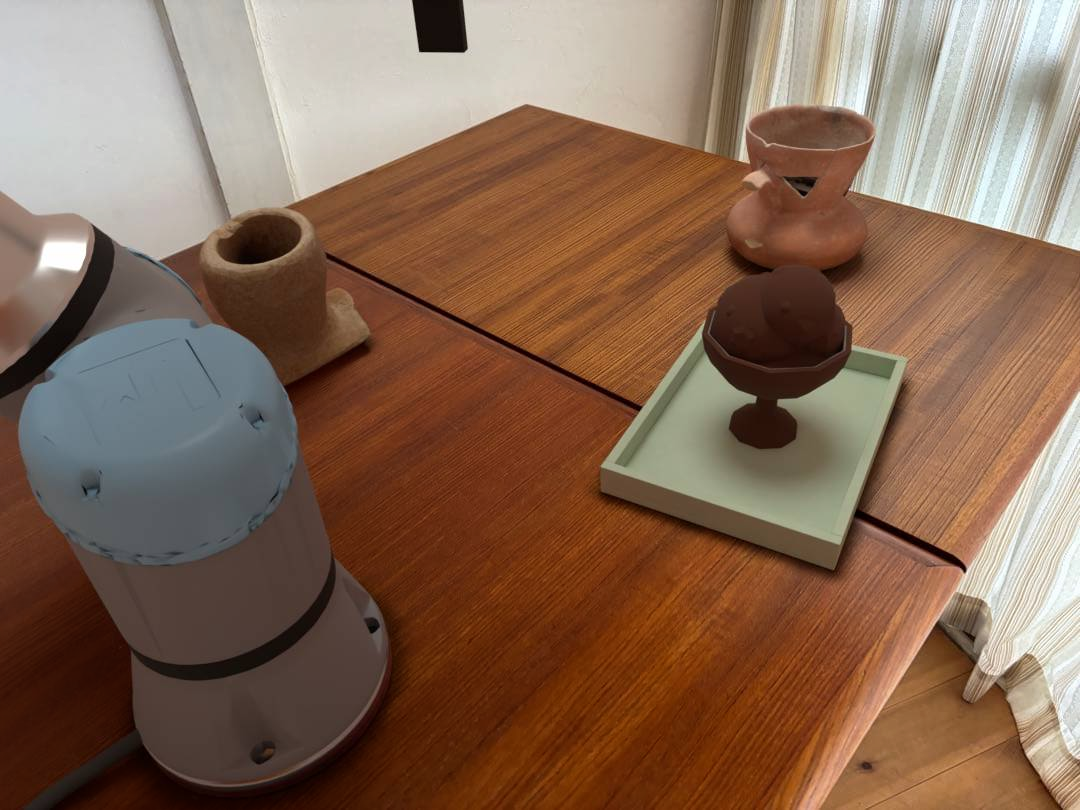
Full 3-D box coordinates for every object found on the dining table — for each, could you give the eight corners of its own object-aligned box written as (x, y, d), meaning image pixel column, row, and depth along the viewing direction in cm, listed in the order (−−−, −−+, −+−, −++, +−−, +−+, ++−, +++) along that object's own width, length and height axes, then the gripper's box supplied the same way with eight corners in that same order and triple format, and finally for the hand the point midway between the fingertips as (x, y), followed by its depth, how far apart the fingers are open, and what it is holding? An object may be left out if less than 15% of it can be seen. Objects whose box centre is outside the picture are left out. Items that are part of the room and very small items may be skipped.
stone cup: (263, 424, 73) (212, 272, 64) (203, 369, 81) (149, 225, 71) (405, 350, 81) (378, 205, 72) (338, 306, 88) (306, 169, 79)
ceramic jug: (793, 307, 84) (814, 170, 75) (688, 255, 93) (696, 128, 84) (903, 247, 92) (933, 117, 83) (796, 205, 101) (813, 84, 92)
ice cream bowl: (834, 395, 71) (867, 234, 62) (827, 484, 63) (864, 313, 54) (707, 378, 74) (721, 221, 65) (685, 461, 66) (698, 294, 57)
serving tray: (833, 570, 57) (840, 545, 56) (600, 491, 65) (600, 466, 63) (902, 382, 73) (908, 357, 72) (708, 335, 81) (710, 312, 79)
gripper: (421, -522, 30) (479, 84, 43) (560, -429, 49) (571, -27, 62) (231, -497, 32) (343, 81, 45) (437, -416, 51) (473, -26, 64)
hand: (476, 19), depth 54 cm, fingers open, 13 cm apart
